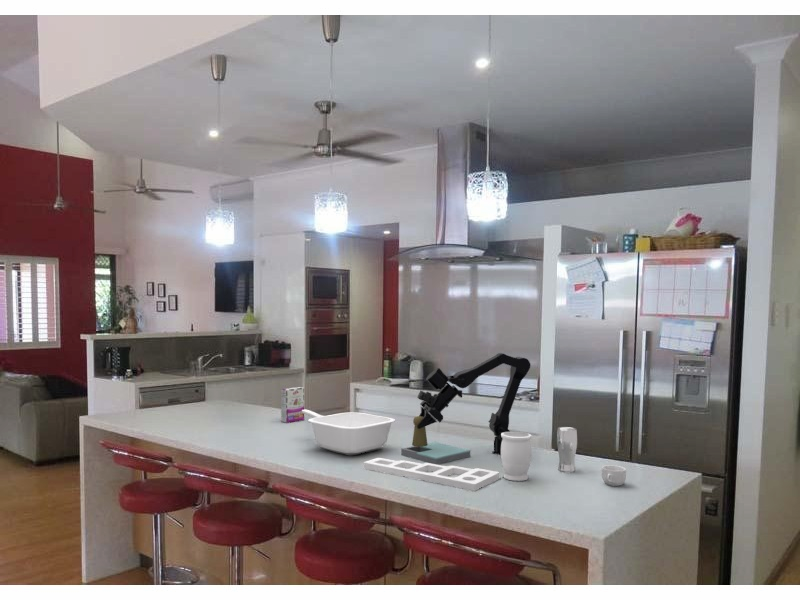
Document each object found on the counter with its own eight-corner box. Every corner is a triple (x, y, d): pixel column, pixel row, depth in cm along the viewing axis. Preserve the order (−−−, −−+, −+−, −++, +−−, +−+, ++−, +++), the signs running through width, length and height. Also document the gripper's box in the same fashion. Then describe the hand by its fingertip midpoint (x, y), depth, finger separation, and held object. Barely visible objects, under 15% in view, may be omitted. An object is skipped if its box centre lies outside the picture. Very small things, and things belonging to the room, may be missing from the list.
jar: (531, 483, 210) (531, 438, 210) (499, 481, 212) (500, 436, 212) (531, 474, 220) (531, 431, 220) (501, 473, 222) (501, 430, 222)
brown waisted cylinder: (411, 443, 249) (411, 415, 249) (426, 443, 250) (426, 415, 250) (412, 446, 243) (413, 418, 243) (428, 446, 244) (428, 418, 244)
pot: (350, 462, 234) (351, 428, 235) (276, 443, 264) (277, 413, 264) (401, 449, 256) (401, 418, 256) (327, 433, 285) (327, 405, 285)
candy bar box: (298, 419, 320) (298, 386, 320) (304, 420, 316) (304, 387, 316) (280, 421, 311) (280, 388, 311) (286, 423, 308) (287, 389, 308)
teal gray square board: (470, 456, 245) (470, 450, 245) (436, 464, 233) (436, 457, 233) (435, 447, 259) (435, 441, 259) (401, 455, 247) (401, 448, 247)
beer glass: (577, 469, 229) (577, 427, 229) (576, 473, 222) (576, 431, 222) (557, 467, 231) (558, 426, 231) (555, 472, 224) (556, 429, 224)
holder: (363, 469, 226) (363, 462, 226) (392, 460, 241) (392, 452, 241) (474, 492, 201) (474, 484, 201) (499, 480, 215) (499, 472, 215)
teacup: (606, 479, 215) (606, 463, 215) (629, 483, 211) (629, 467, 211) (596, 486, 207) (596, 470, 207) (619, 490, 203) (619, 473, 203)
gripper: (425, 380, 256) (398, 408, 254) (434, 386, 238) (405, 416, 236) (444, 399, 257) (417, 427, 256) (455, 407, 239) (426, 437, 237)
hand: (416, 426), depth 246 cm, fingers closed on brown waisted cylinder, 5 cm apart
